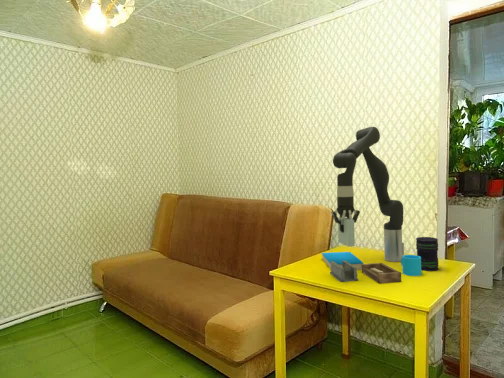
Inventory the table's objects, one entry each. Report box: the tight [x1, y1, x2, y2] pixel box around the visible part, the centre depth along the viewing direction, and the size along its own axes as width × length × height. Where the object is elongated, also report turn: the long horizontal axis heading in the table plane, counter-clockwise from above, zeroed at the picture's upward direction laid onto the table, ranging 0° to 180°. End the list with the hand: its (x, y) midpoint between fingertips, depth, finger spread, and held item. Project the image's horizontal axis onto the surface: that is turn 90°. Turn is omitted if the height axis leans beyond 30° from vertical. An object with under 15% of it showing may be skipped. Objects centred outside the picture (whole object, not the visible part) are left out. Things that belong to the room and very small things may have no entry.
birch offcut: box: [370, 268, 383, 274], centre depth 166 cm, size 2×7×2 cm, turn 14°
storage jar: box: [415, 236, 439, 272], centre depth 176 cm, size 10×10×15 cm
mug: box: [400, 254, 422, 277], centre depth 171 cm, size 12×8×8 cm
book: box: [321, 251, 364, 271], centre depth 192 cm, size 17×4×25 cm
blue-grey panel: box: [337, 216, 356, 247], centre depth 167 cm, size 3×12×12 cm, turn 7°
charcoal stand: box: [329, 260, 359, 283], centre depth 168 cm, size 8×14×6 cm, turn 7°
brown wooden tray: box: [361, 262, 402, 284], centre depth 166 cm, size 10×18×4 cm, turn 7°
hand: (345, 231), depth 167 cm, fingers closed on blue-grey panel, 3 cm apart
